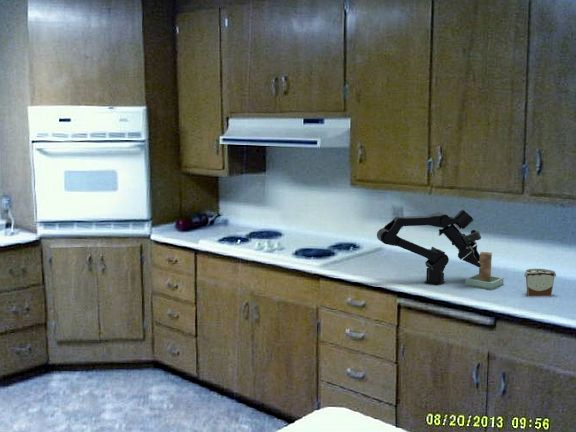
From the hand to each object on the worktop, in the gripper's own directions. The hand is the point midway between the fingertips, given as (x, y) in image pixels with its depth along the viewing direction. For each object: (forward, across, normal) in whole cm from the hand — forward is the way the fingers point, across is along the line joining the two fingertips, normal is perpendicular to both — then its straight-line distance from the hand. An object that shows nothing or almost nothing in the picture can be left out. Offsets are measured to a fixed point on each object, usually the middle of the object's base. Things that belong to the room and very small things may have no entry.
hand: (481, 264), depth 272 cm
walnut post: (+7, 0, +5) cm, 8 cm away
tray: (+8, 0, +5) cm, 9 cm away
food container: (+22, -7, -10) cm, 25 cm away
